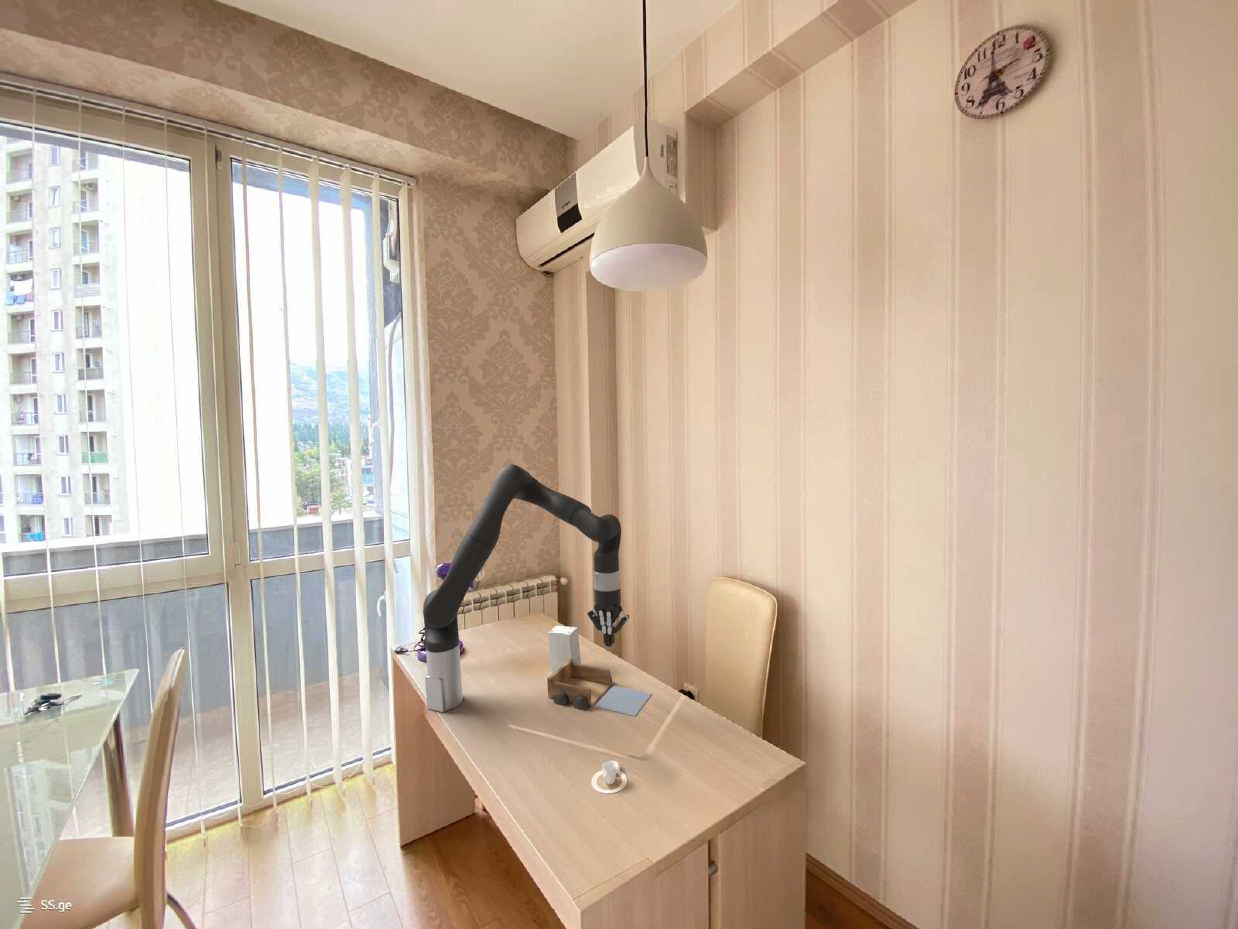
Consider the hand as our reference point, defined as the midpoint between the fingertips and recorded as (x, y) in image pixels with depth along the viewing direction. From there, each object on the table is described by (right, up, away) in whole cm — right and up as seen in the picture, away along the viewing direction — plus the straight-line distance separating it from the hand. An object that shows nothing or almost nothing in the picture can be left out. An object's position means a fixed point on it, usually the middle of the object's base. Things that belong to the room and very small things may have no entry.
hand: (609, 645), depth 144 cm
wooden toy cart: (-8, -17, +5) cm, 19 cm away
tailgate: (-1, -16, +2) cm, 16 cm away
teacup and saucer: (+4, -20, -30) cm, 36 cm away
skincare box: (-14, -16, +20) cm, 29 cm away
